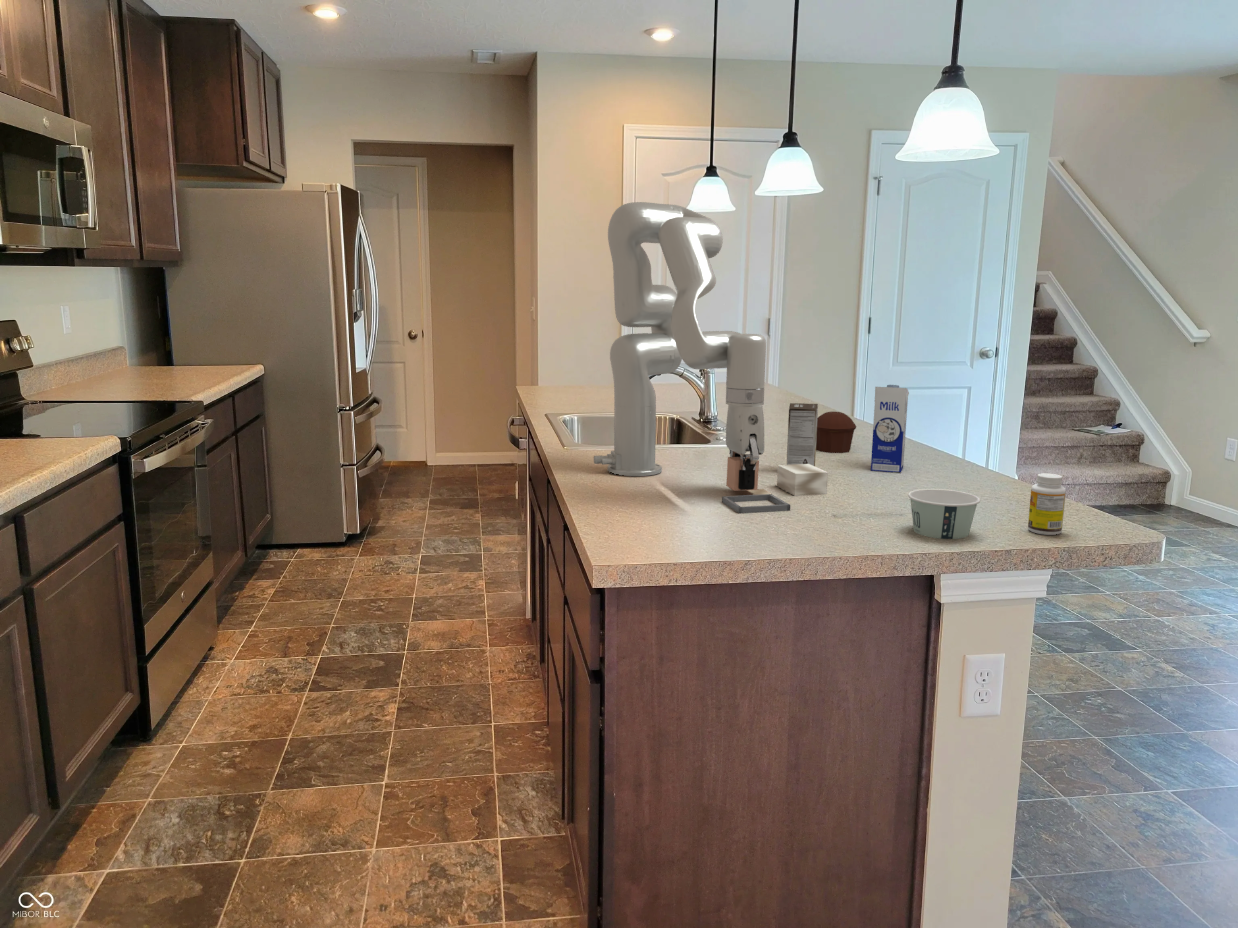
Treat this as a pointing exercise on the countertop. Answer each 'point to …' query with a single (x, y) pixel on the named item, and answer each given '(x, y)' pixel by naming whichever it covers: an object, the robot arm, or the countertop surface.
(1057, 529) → the supplement bottle
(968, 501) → the food container
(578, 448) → the countertop surface
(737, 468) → the block
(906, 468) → the countertop surface
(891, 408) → the milk carton
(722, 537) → the countertop surface
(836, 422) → the muffin
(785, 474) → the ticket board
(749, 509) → the tray
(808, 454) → the coffee box
